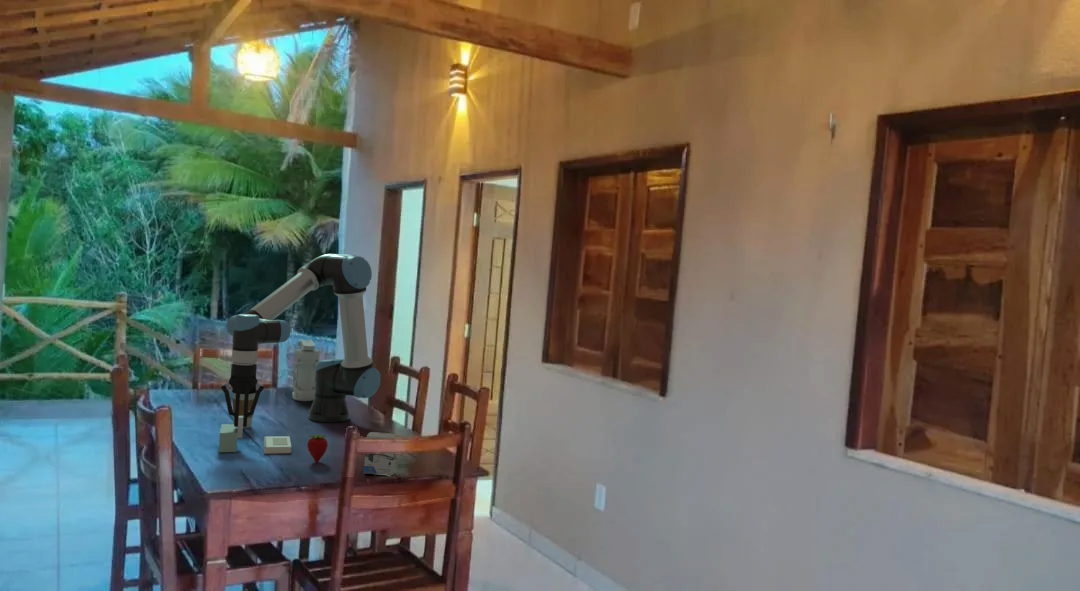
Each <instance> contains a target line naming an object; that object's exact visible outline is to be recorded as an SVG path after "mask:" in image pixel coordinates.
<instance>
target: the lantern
mask: <svg viewBox="0 0 1080 591" xmlns="http://www.w3.org/2000/svg"><path fill="white" fill-rule="evenodd" d="M299 340H300V341H298V346H299V348H297V349H294V354H295V361H294V362H295V363H294V364H293V375H292V389H293V392H291V394H292V395H291V396H292V397H291V398H292V399H293V400H295V401H299V402H310V401H312V402H313V401H314V398H315V382H316V369H317V363H318V362H319V361H320V355H321V350H320V349H316V345H315V343H314V341H313V339H309V338H308V339H307V338H304V339H303V338H300V339H299Z"/></svg>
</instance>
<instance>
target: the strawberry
mask: <svg viewBox="0 0 1080 591" xmlns="http://www.w3.org/2000/svg"><path fill="white" fill-rule="evenodd" d="M315 431H316V432H317V434H316V435H309V439H308V440H307V450H308V452H309V454H310V456H311V457H312V459H313V461H314V462H316V463H319V461H320V460H321V459H322V457H323V456H324V455H325V453H326V452H327V448H328V440H327V439H326V436H327V435H325V434H324V435H323V434H322V435H320V434H319V432H318V430H317V429H315Z"/></svg>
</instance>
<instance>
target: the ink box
mask: <svg viewBox="0 0 1080 591" xmlns="http://www.w3.org/2000/svg"><path fill="white" fill-rule="evenodd" d="M395 437H397V438H398V434H396V433H390V432H389V433H387V432H377V431H370V432H368V433H367V435H366V439H367V438H395ZM396 456H397V453H396V454H395V453H391V454H390V453H385V454H366V453H365V452H364V465H363V467H364V468H363V473H364V472H367V473H377V474H388V475H392V474H393V473H394V471H395V469H396ZM394 474H395V473H394ZM394 474H393V475H394Z"/></svg>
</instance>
